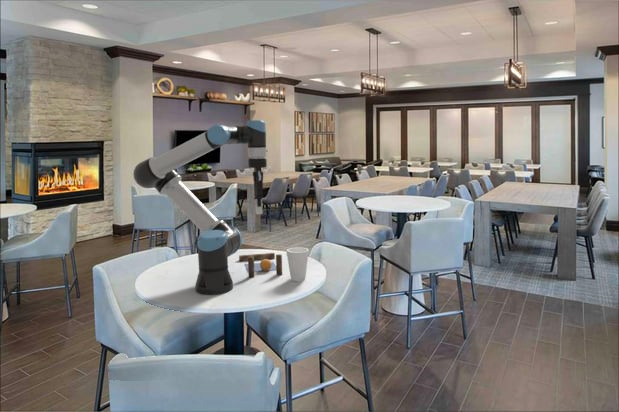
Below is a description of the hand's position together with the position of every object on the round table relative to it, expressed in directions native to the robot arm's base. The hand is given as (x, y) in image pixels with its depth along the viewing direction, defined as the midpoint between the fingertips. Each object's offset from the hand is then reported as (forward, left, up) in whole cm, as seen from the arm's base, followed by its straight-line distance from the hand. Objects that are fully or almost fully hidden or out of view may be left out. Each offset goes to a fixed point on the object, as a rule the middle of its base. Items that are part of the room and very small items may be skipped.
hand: (259, 213), depth 190 cm
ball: (+4, +15, -27) cm, 31 cm away
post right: (+9, +7, -29) cm, 32 cm away
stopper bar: (+3, +36, -29) cm, 47 cm away
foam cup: (+16, -2, -30) cm, 34 cm away
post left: (-3, +7, -29) cm, 30 cm away
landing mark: (+3, +21, -29) cm, 36 cm away
